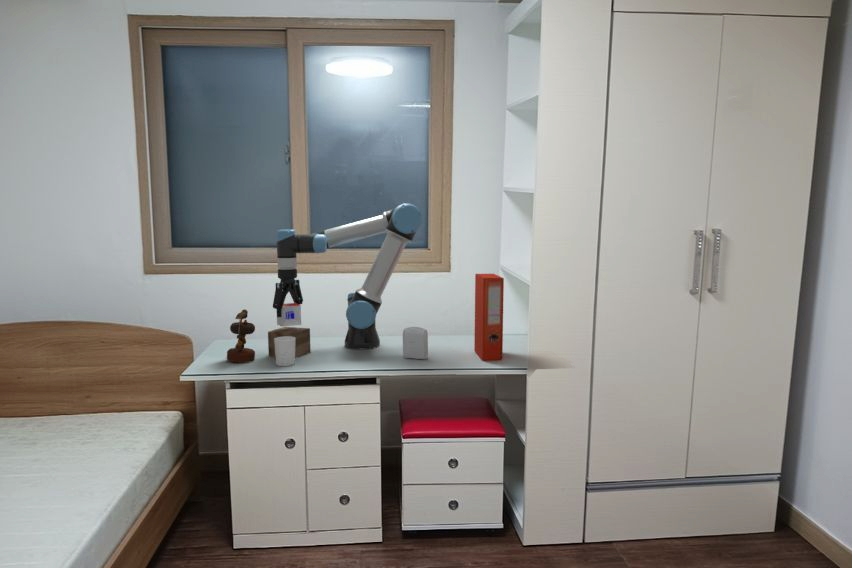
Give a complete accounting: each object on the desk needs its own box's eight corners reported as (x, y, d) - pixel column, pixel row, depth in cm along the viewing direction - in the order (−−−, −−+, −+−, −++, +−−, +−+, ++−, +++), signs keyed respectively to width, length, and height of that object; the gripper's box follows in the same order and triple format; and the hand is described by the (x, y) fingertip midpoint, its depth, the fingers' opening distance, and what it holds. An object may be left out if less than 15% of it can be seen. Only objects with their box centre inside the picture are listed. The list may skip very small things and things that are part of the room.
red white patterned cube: (296, 321, 263) (295, 302, 262) (301, 324, 256) (300, 305, 255) (276, 323, 259) (276, 304, 258) (281, 326, 252) (280, 306, 251)
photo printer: (401, 358, 251) (400, 327, 250) (406, 355, 255) (405, 325, 254) (425, 360, 247) (424, 328, 246) (429, 358, 251) (429, 327, 250)
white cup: (276, 362, 246) (275, 336, 245) (297, 361, 247) (296, 336, 246) (273, 367, 238) (272, 340, 237) (295, 366, 239) (294, 340, 238)
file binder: (493, 350, 263) (494, 273, 260) (503, 360, 246) (503, 277, 243) (474, 351, 262) (474, 273, 259) (482, 361, 245) (482, 278, 242)
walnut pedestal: (310, 352, 262) (309, 328, 261) (294, 358, 251) (293, 333, 250) (285, 350, 267) (284, 326, 265) (268, 356, 255) (267, 331, 254)
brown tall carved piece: (255, 363, 244) (253, 311, 242) (225, 365, 241) (223, 313, 239) (256, 354, 258) (254, 306, 256) (228, 356, 256) (226, 307, 254)
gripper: (295, 265, 267) (296, 317, 270) (261, 270, 245) (263, 327, 248) (310, 266, 265) (312, 318, 267) (278, 271, 243) (280, 328, 245)
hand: (289, 322), depth 257 cm, fingers closed on red white patterned cube, 11 cm apart
